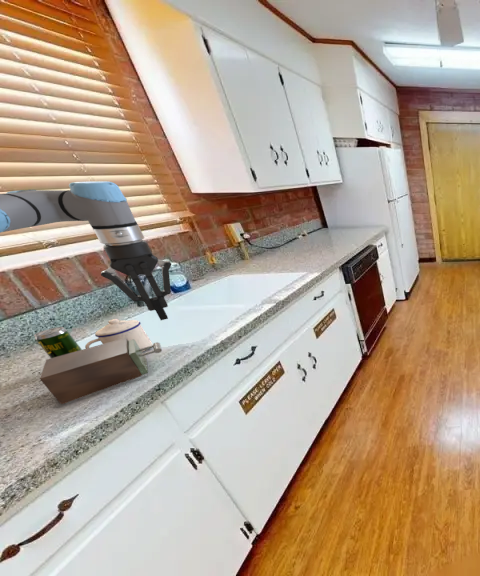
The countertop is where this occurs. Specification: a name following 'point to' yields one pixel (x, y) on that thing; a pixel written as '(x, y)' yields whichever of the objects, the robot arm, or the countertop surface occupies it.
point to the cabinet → (89, 370)
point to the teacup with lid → (122, 333)
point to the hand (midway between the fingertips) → (164, 318)
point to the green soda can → (57, 342)
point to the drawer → (141, 354)
